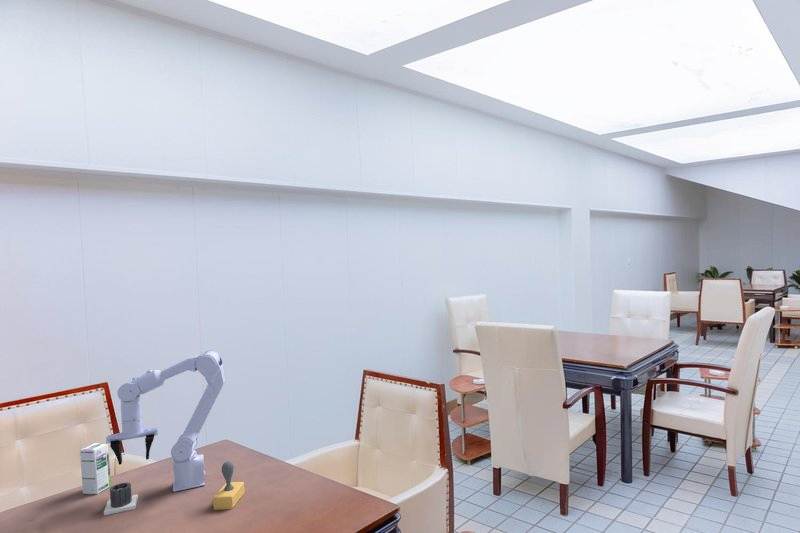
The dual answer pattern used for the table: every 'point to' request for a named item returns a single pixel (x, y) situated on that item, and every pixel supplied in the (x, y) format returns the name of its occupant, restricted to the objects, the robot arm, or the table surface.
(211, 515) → the table surface
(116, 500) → the gray grooved hollow cylinder
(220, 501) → the rubber stamp
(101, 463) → the syrup box
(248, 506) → the table surface
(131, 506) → the white square peg stand
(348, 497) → the table surface
